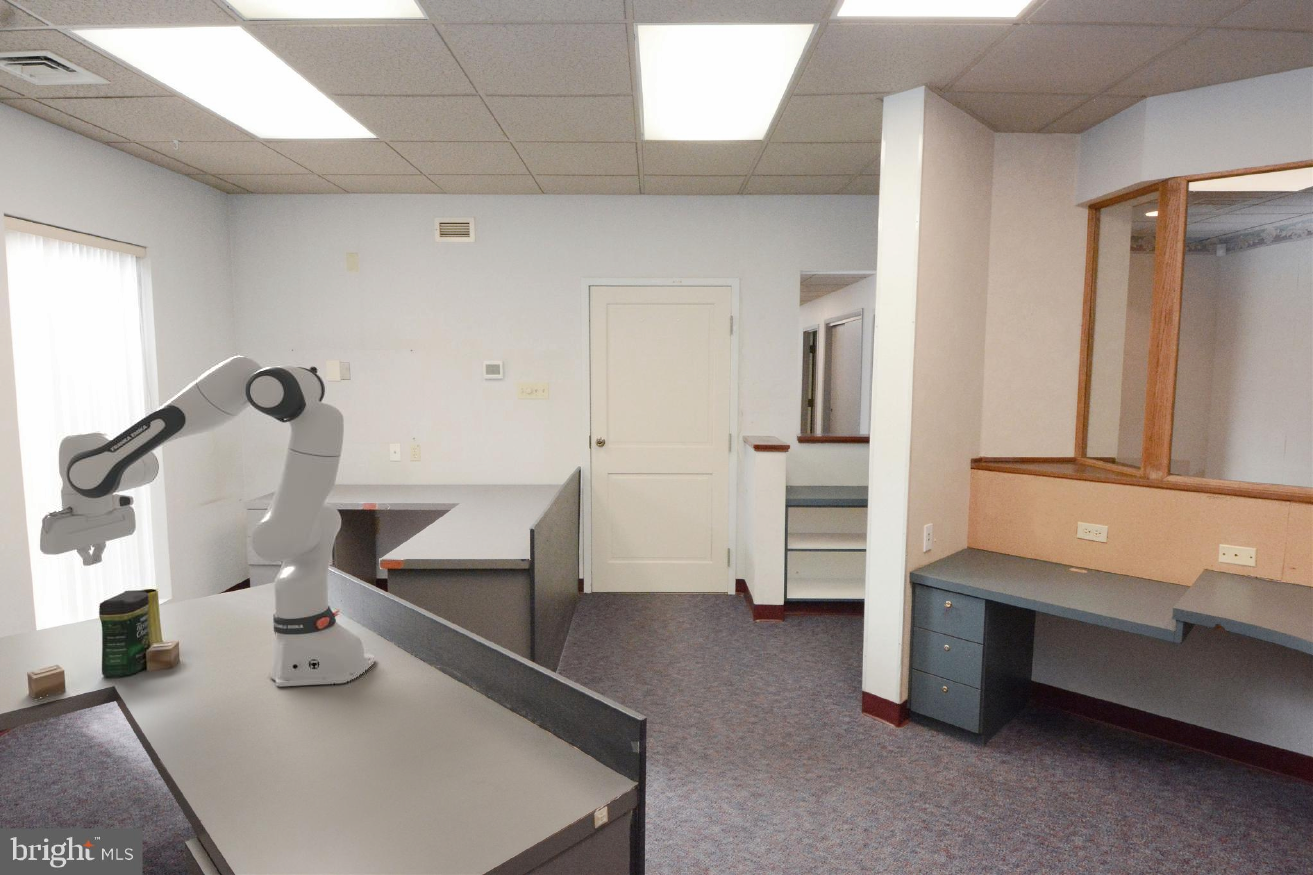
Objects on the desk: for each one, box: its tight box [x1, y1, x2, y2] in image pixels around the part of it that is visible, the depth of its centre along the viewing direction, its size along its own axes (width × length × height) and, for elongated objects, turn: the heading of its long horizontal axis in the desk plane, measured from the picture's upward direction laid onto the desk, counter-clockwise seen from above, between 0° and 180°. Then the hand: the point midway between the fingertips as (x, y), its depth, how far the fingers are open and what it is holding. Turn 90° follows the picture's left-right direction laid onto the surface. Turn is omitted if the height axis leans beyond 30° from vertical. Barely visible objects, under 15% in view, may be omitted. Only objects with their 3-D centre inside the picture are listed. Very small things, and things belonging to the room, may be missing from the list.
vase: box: [142, 588, 164, 646], centre depth 169 cm, size 6×6×14 cm
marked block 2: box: [146, 640, 181, 672], centre depth 157 cm, size 5×5×5 cm
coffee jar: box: [98, 589, 151, 679], centre depth 154 cm, size 10×8×19 cm
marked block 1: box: [26, 664, 67, 700], centre depth 143 cm, size 5×5×5 cm
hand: (92, 563), depth 148 cm, fingers closed
